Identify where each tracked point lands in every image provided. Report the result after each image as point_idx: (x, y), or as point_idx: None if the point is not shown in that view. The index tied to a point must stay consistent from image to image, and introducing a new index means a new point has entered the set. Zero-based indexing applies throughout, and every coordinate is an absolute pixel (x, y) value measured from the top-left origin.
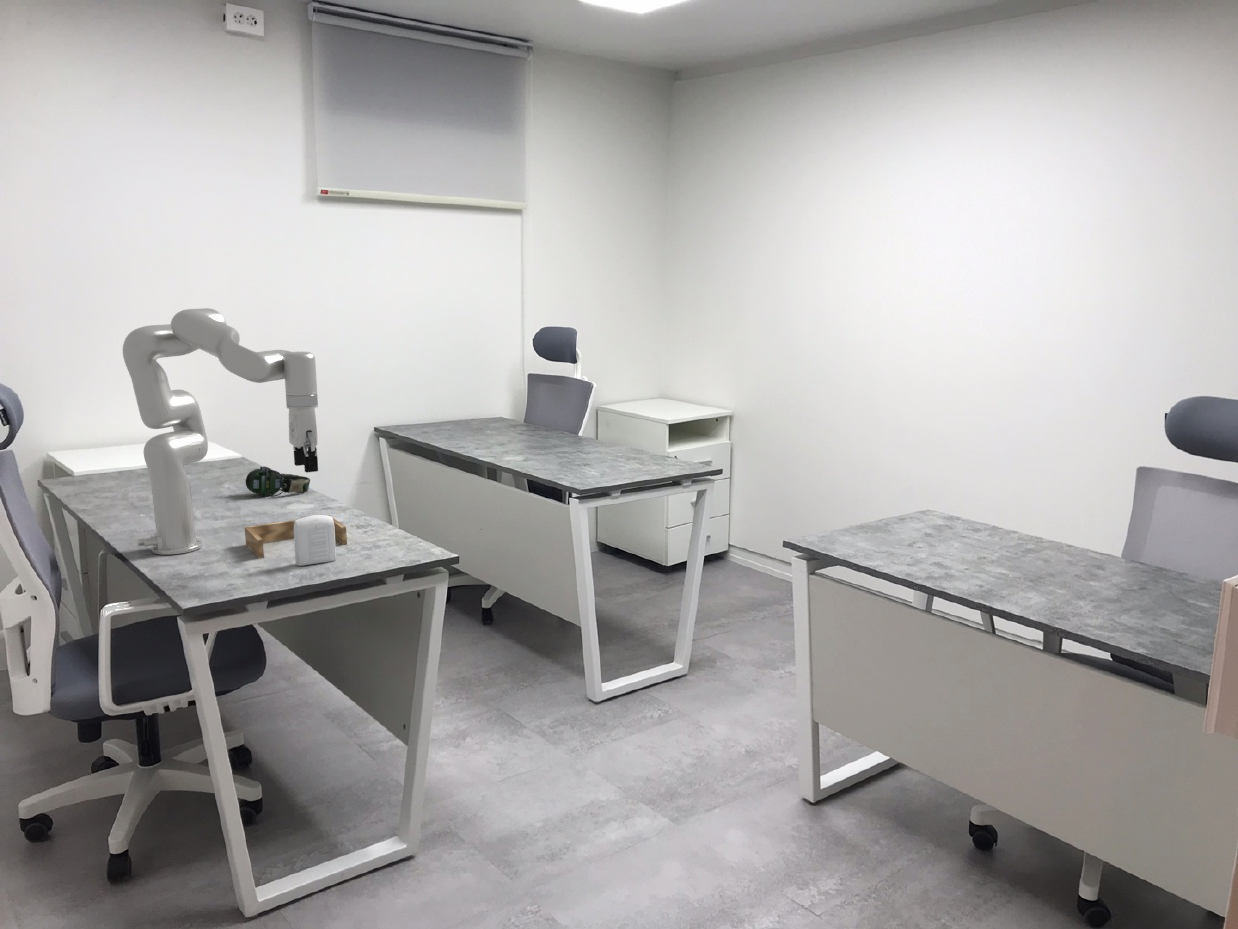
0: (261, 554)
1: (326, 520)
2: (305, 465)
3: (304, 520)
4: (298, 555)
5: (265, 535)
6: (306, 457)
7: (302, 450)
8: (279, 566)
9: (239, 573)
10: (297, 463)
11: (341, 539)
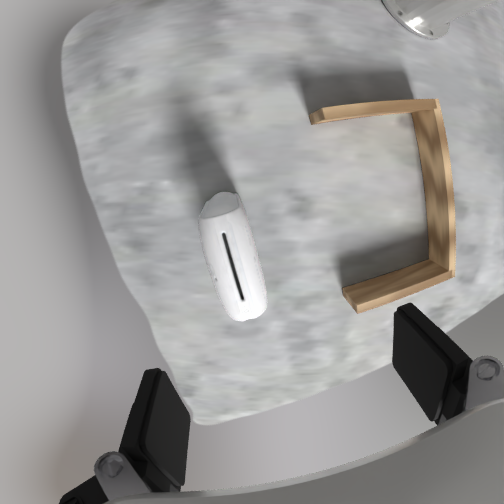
0: (312, 118)
1: (224, 304)
2: (138, 401)
3: (210, 245)
4: (209, 202)
5: (426, 140)
6: (131, 451)
7: (440, 406)
8: (227, 156)
9: (203, 77)
10: (400, 325)
11: (352, 290)
